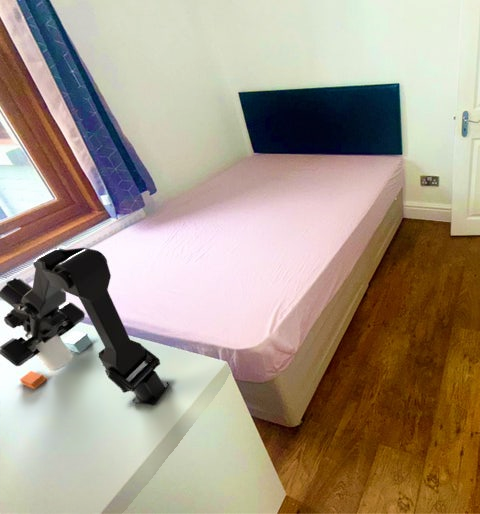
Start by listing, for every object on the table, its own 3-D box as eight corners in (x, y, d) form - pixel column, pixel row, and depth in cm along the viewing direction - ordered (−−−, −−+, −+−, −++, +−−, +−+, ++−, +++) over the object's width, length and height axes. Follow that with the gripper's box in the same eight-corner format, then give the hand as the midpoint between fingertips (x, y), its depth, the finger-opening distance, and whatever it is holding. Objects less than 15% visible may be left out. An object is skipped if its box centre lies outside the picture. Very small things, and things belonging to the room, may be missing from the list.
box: (93, 342, 109) (87, 333, 107) (79, 353, 106) (73, 344, 104) (80, 339, 112) (74, 330, 110) (67, 349, 109) (60, 341, 107)
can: (60, 371, 98) (35, 339, 92) (43, 371, 100) (16, 339, 94) (78, 354, 104) (55, 322, 98) (61, 353, 105) (37, 322, 99)
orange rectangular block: (47, 379, 99) (43, 374, 98) (35, 389, 96) (31, 384, 95) (35, 375, 101) (31, 370, 100) (23, 384, 99) (18, 379, 98)
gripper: (54, 277, 96) (54, 305, 106) (-24, 324, 81) (-16, 351, 92) (88, 303, 96) (84, 328, 106) (15, 354, 82) (19, 378, 92)
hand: (45, 344), depth 99 cm, fingers closed on can, 6 cm apart
